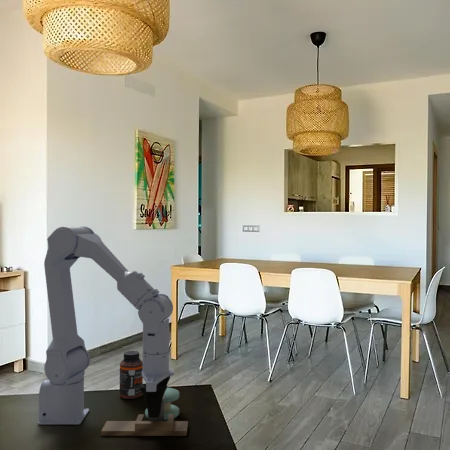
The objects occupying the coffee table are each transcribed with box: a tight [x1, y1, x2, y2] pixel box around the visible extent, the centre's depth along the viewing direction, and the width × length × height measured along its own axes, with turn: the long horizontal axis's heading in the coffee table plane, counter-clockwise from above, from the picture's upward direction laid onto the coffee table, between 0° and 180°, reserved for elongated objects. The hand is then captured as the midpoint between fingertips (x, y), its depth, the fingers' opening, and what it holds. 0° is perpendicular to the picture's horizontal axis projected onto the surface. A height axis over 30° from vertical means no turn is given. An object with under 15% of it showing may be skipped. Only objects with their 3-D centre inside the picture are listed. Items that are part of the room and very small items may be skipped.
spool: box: [144, 387, 180, 421], centre depth 111 cm, size 8×8×5 cm
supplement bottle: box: [119, 350, 144, 400], centre depth 122 cm, size 6×6×11 cm
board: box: [100, 413, 189, 437], centre depth 102 cm, size 18×5×2 cm, turn 91°
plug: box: [147, 395, 164, 421], centre depth 103 cm, size 4×4×6 cm
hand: (155, 413), depth 103 cm, fingers closed on plug, 3 cm apart
